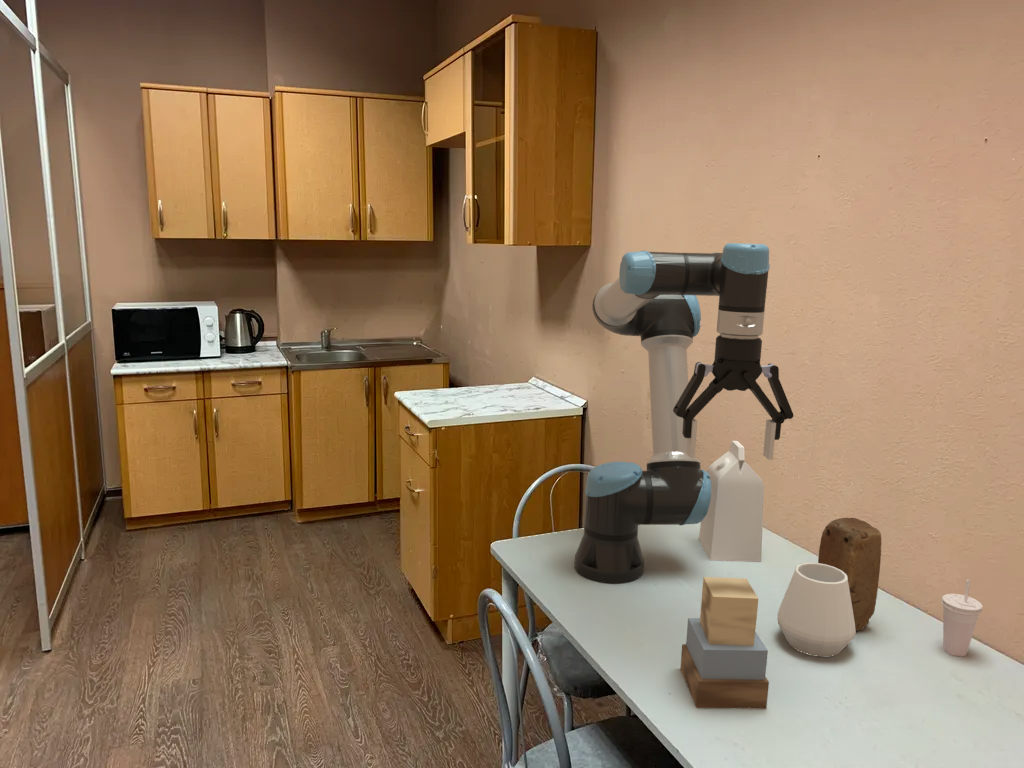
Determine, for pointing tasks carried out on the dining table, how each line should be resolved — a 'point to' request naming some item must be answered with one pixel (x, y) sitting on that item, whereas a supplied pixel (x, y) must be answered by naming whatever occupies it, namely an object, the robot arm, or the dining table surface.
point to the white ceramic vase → (817, 610)
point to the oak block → (728, 611)
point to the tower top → (725, 656)
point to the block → (854, 562)
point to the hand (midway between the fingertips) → (729, 456)
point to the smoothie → (959, 621)
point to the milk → (733, 510)
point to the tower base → (722, 688)
